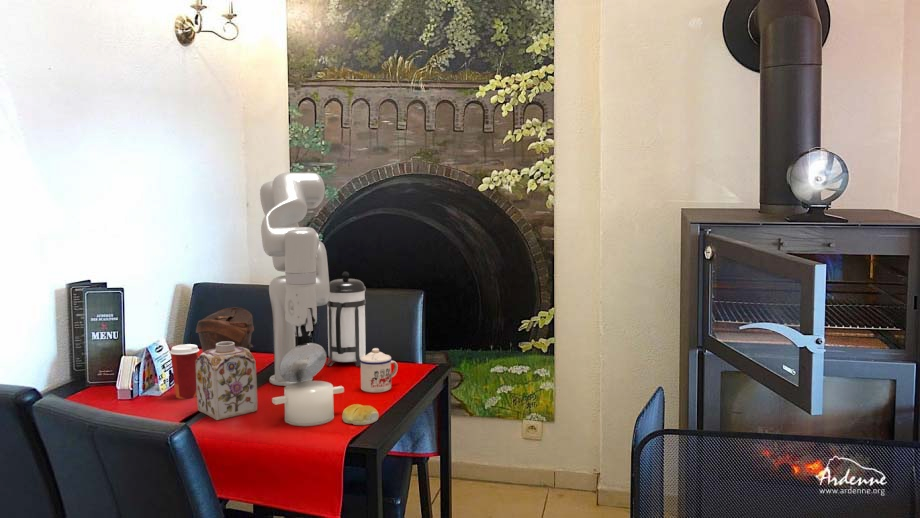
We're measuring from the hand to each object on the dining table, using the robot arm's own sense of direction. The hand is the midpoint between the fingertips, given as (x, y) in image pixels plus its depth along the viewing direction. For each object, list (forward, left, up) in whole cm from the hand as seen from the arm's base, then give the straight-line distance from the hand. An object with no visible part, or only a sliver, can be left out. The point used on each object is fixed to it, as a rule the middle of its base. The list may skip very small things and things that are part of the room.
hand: (302, 351), depth 191 cm
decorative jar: (-15, -15, -17) cm, 27 cm away
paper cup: (-35, -20, -17) cm, 44 cm away
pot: (+3, 0, -17) cm, 17 cm away
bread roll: (+11, +10, -17) cm, 23 cm away
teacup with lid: (-11, +28, -17) cm, 35 cm away
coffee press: (-42, +33, -17) cm, 56 cm away
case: (-62, 0, -17) cm, 64 cm away
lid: (0, 0, -3) cm, 3 cm away
